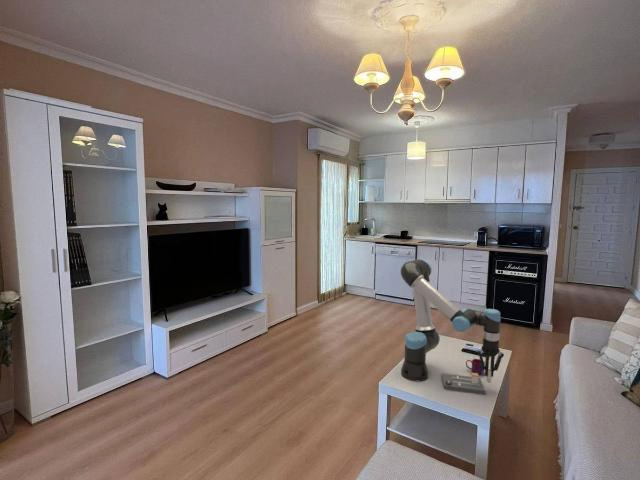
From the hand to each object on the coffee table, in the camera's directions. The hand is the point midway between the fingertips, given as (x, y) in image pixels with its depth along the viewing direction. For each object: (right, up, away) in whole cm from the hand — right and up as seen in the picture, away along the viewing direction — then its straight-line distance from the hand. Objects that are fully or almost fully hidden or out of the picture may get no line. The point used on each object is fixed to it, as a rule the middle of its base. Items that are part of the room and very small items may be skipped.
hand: (488, 381), depth 185 cm
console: (-12, -3, +4) cm, 13 cm away
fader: (-7, -1, +2) cm, 7 cm away
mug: (+1, -2, +19) cm, 19 cm away
